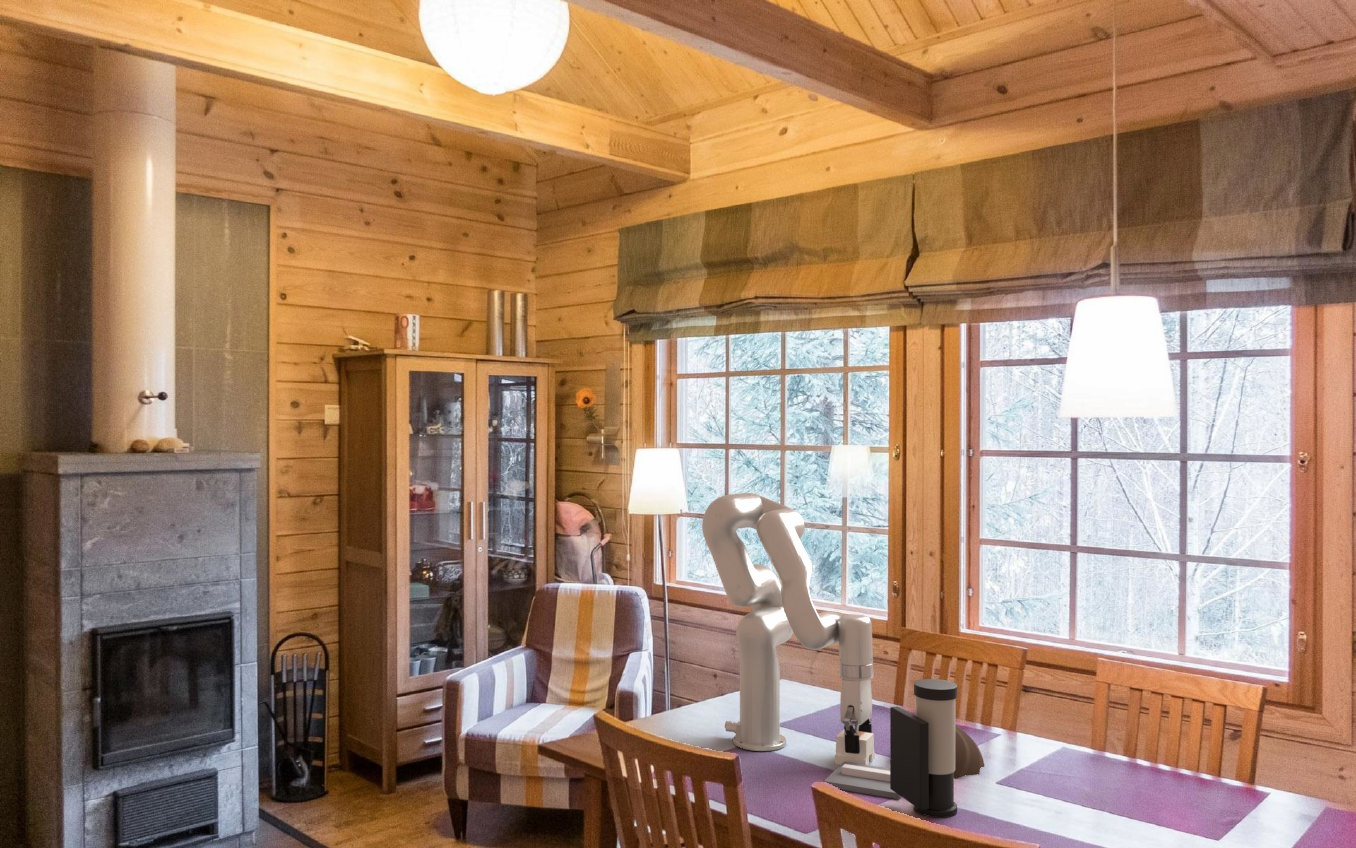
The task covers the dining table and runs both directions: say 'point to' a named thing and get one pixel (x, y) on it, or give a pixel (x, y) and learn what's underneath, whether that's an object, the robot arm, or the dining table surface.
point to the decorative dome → (966, 755)
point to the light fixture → (925, 749)
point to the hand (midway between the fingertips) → (858, 747)
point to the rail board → (863, 779)
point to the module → (865, 749)
